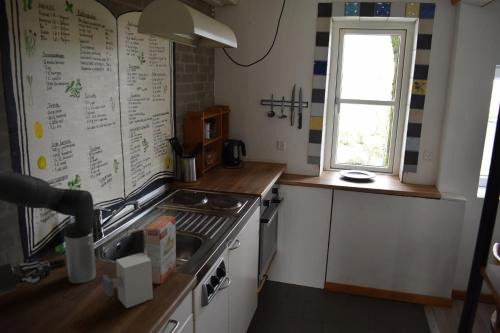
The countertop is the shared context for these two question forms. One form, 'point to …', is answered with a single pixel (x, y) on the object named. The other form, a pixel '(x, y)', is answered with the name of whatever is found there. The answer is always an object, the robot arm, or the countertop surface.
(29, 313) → the countertop surface
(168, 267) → the cracker box
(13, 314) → the countertop surface
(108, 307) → the countertop surface
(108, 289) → the block
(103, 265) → the countertop surface
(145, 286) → the key block
